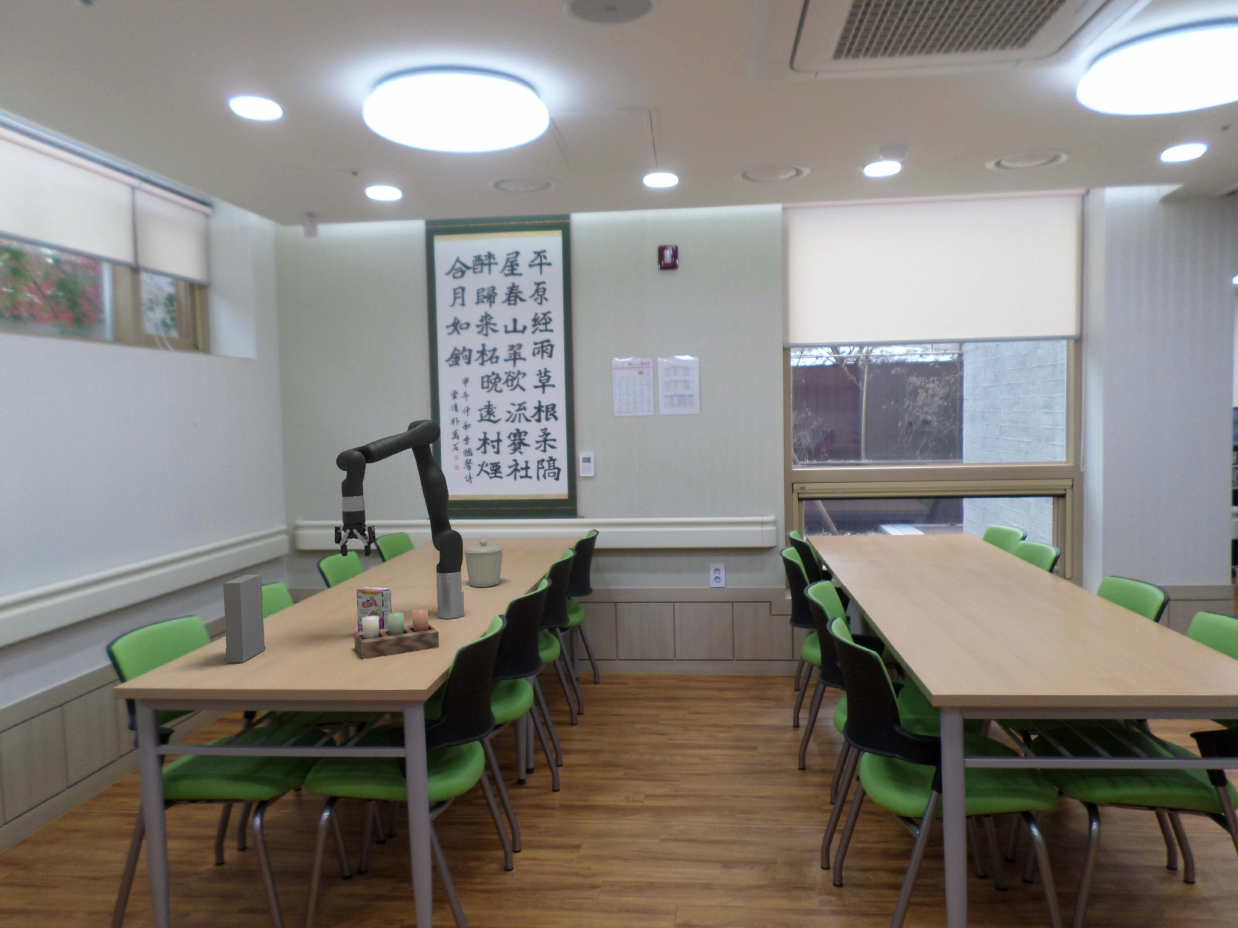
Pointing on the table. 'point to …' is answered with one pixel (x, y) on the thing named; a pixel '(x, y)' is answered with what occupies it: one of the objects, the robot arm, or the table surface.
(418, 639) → the button board
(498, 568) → the canister
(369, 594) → the candy bar box
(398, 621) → the green pillar candle
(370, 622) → the button cream
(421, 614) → the pink candle
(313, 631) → the table surface
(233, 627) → the upright grey tower
